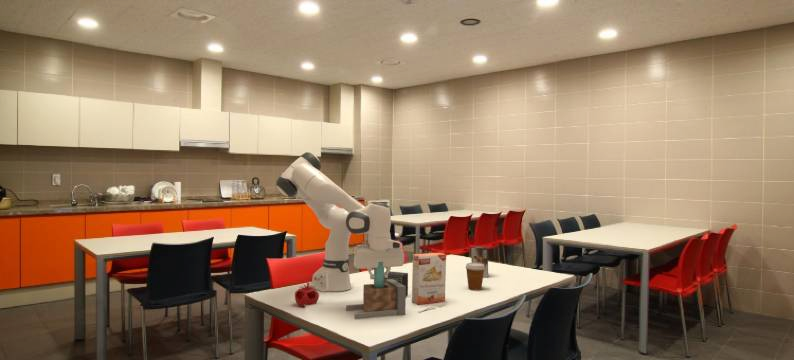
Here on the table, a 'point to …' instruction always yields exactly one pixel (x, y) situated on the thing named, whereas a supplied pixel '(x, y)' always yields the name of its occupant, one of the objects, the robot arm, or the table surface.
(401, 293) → the backstop
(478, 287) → the disposable coffee cup
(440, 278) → the cracker box
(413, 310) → the table surface
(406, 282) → the small box
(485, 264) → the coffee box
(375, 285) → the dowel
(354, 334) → the table surface
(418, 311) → the fork
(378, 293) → the socket block
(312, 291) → the pomegranate
